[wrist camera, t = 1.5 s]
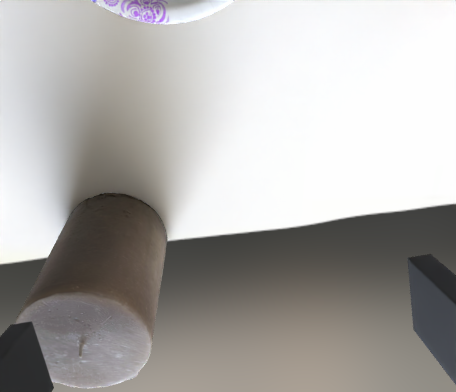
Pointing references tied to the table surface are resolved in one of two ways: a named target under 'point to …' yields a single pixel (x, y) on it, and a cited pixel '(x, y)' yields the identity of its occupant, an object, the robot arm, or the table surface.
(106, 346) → the pillar candle
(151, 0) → the paper bowls
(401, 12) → the table surface
